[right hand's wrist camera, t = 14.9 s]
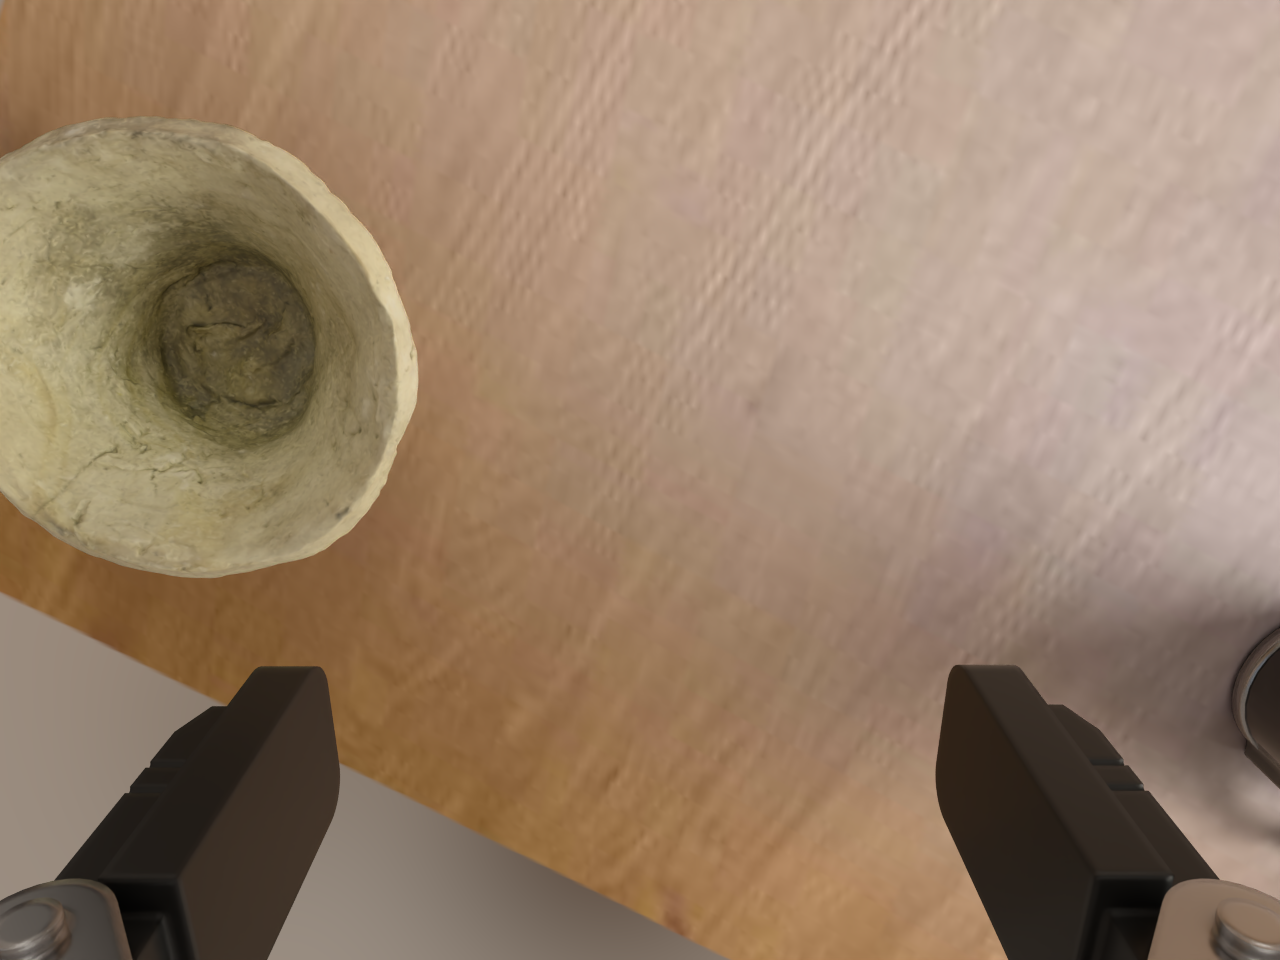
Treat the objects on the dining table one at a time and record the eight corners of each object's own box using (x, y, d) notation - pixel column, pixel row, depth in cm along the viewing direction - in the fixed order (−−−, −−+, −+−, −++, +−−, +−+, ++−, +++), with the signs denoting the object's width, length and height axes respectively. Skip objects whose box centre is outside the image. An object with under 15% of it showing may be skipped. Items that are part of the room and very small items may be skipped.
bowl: (179, 409, 46) (-143, 242, 34) (456, 230, 42) (195, -32, 30) (178, 650, 39) (-230, 543, 27) (513, 466, 35) (199, 242, 23)
